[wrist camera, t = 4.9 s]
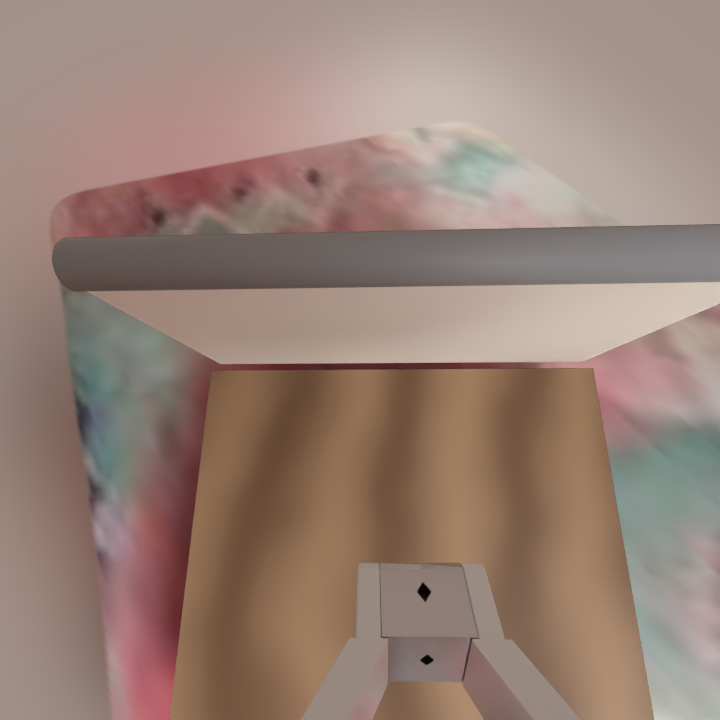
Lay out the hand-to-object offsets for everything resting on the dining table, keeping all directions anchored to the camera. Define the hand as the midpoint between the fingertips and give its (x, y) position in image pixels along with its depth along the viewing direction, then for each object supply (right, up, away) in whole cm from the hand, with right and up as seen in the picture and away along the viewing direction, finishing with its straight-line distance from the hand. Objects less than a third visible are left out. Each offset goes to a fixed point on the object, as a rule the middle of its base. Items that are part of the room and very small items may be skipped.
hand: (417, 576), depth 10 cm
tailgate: (+1, +6, +13) cm, 14 cm away
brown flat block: (+1, -5, +14) cm, 15 cm away
